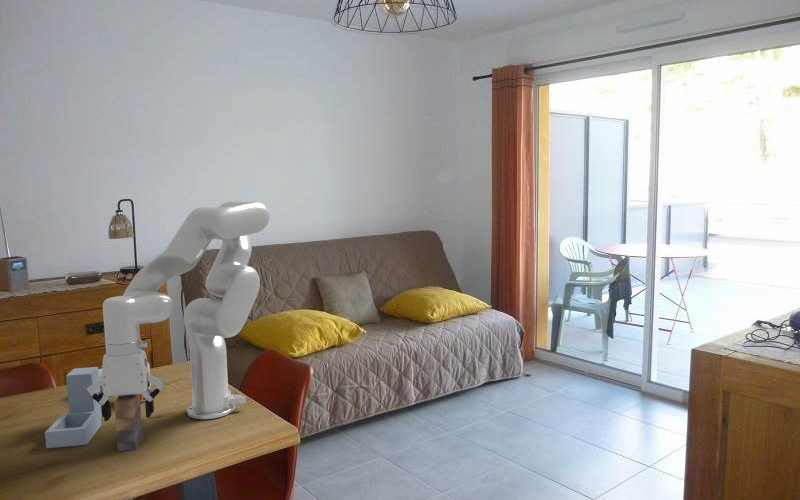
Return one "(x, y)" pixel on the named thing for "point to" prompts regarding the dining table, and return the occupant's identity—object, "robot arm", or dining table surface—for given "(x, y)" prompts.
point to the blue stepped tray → (77, 412)
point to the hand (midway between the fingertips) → (128, 417)
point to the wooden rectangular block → (128, 422)
